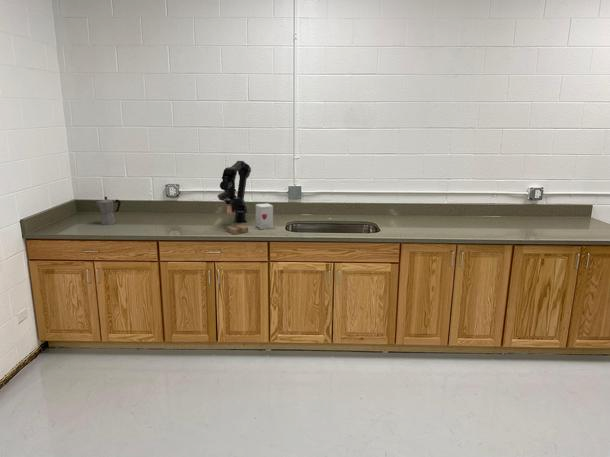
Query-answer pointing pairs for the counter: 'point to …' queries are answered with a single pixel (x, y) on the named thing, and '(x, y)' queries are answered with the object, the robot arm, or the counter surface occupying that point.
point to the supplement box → (264, 216)
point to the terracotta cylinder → (229, 209)
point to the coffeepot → (107, 210)
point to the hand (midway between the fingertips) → (231, 211)
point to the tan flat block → (237, 229)
